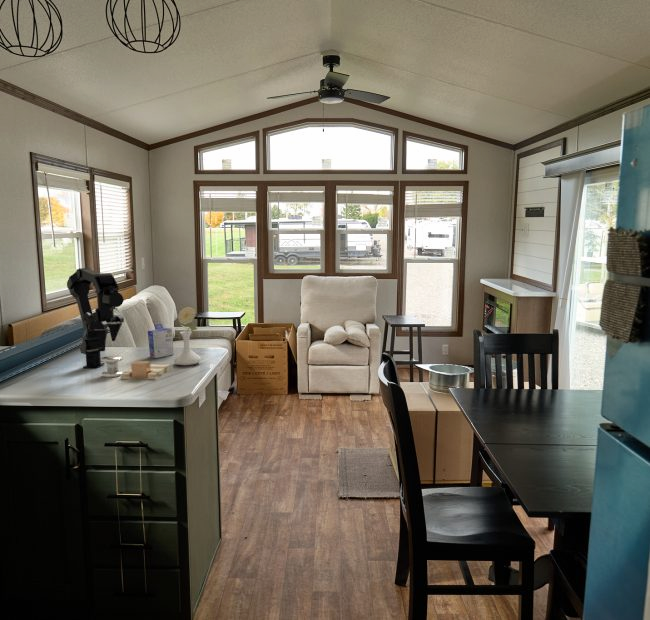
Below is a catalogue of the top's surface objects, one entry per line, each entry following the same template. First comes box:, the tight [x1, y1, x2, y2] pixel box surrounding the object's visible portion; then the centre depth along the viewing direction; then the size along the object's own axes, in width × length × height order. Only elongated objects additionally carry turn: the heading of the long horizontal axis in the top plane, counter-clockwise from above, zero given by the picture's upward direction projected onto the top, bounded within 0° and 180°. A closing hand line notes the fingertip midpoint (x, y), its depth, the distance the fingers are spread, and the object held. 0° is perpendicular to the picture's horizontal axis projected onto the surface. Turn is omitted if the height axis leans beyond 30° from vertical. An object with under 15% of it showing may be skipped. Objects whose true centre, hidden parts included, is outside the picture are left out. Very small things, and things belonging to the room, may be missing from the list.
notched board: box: [120, 363, 172, 380], centre depth 228 cm, size 16×14×2 cm
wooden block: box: [130, 360, 151, 380], centre depth 223 cm, size 4×6×6 cm, turn 84°
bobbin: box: [101, 355, 124, 379], centre depth 227 cm, size 8×8×7 cm
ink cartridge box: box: [147, 323, 175, 359], centre depth 259 cm, size 10×6×14 cm, turn 135°
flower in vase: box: [173, 306, 202, 366], centre depth 241 cm, size 13×11×25 cm
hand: (108, 343), depth 230 cm, fingers open, 9 cm apart
